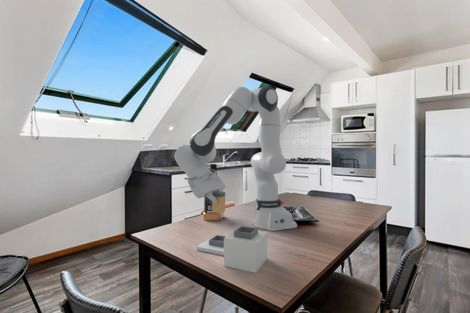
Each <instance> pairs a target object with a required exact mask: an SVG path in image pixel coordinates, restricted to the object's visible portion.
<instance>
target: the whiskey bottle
mask: <svg viewBox="0 0 470 313" xmlns="http://www.w3.org/2000/svg"><path fill="white" fill-rule="evenodd" d="M209 164H210V165H209V167H210V168H209V169H213V170H215V171H216V175H218V172H217V171H218V170H217V168H218V167H217V166H218V165H217V164H216V163H209ZM222 192H224V189H223V190H222ZM203 198H204V199H203V200H204V202H203V203H204V205H203V206H204V207H203V211H204V212H203V215H202V216H203V217H202V219H203V221H215V222H220V221H222V220H223V219H224V216H225V214H224V213H225V211H224V212H222V213H215V212H212V200H210V199H208V198H207V196H206V197H203Z"/></svg>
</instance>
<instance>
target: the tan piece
mask: <svg viewBox="0 0 470 313" xmlns="http://www.w3.org/2000/svg"><path fill="white" fill-rule="evenodd" d="M212 195H213V196H214V197H215V198H216V197H217V199H218V200H219V201H218V202H217V203H213V201H212V212H215V213H222V212H224V213H225V212H226V192H225V191H223V192H214V193H212Z"/></svg>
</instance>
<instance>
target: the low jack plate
mask: <svg viewBox="0 0 470 313" xmlns="http://www.w3.org/2000/svg"><path fill="white" fill-rule="evenodd" d="M226 236H227V235H226ZM226 236H225V235H219V234H216V235H212V236H211V237H209V238H208V239H206V240H205V241H203V242H202V243H200V244H198V245H197V246H196V251H198V252H199V251H200V252H205V253H208V254H209V253H210V254H214V255H220V256H223V257H224V238H225V237H226Z"/></svg>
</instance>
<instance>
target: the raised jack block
mask: <svg viewBox="0 0 470 313" xmlns="http://www.w3.org/2000/svg"><path fill="white" fill-rule="evenodd" d="M267 259H268V231H260V230H259V228H257V227H252V226H245V225H241V226H239V227H238V228H236V229H235V230H233V231H232V232H230V233H229V234H228V235H226V237H225V238H224V256H223V266H224V267H227V268H233V269H236V270H240V271H244V272H245V271H246V272H250V273H255V274H256V273H257V272H258V271H259V270H260V269H261V268H262V266H263V265H264V263H265V262H266V261H267Z"/></svg>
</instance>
